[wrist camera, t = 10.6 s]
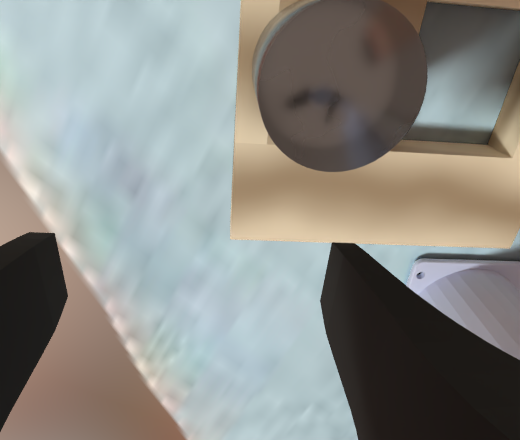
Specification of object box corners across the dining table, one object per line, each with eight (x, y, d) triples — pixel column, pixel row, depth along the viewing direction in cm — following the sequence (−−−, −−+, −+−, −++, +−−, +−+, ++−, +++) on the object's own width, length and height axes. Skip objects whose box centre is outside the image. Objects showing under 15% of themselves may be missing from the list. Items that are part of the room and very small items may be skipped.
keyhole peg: (345, 123, 19) (398, 178, 13) (243, 112, 18) (249, 164, 12) (372, 7, 16) (452, 8, 10) (256, -10, 16) (270, -18, 10)
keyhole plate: (488, 229, 22) (510, 248, 21) (230, 219, 21) (230, 239, 19) (643, -132, 15) (698, -151, 13) (249, -186, 13) (252, -216, 11)
